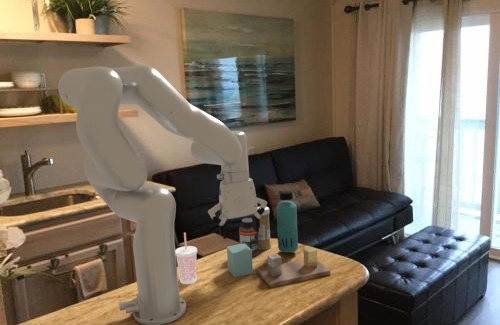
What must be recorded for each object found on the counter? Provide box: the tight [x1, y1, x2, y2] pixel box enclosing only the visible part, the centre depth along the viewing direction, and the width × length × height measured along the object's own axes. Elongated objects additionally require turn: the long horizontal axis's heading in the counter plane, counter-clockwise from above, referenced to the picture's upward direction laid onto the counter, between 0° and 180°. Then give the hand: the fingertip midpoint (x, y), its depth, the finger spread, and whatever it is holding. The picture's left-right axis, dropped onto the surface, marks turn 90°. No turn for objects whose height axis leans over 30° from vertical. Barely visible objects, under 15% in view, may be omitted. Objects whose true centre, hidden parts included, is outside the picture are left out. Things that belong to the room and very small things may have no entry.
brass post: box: [303, 246, 318, 269], centre depth 125 cm, size 3×3×5 cm
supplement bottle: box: [238, 217, 260, 258], centre depth 139 cm, size 6×6×11 cm
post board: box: [256, 253, 331, 288], centre depth 124 cm, size 18×10×6 cm, turn 110°
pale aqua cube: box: [226, 243, 254, 278], centre depth 127 cm, size 6×6×7 cm
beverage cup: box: [175, 232, 198, 285], centre depth 122 cm, size 6×6×14 cm
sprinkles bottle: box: [258, 206, 272, 251], centre depth 143 cm, size 5×5×14 cm
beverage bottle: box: [276, 190, 299, 253], centre depth 137 cm, size 6×7×20 cm
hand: (240, 234), depth 126 cm, fingers open, 9 cm apart
